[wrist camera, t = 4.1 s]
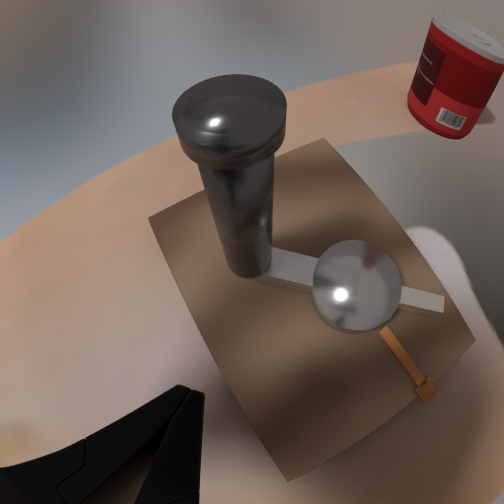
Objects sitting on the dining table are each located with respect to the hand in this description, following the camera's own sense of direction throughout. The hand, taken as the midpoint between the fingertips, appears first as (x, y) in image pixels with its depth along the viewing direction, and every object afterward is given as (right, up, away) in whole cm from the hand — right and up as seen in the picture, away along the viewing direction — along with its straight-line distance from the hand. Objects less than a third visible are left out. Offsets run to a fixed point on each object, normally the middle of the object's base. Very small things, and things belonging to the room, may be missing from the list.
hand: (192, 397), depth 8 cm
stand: (+5, +2, +10) cm, 12 cm away
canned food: (+21, +18, +17) cm, 33 cm away
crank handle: (+6, +2, +8) cm, 11 cm away
